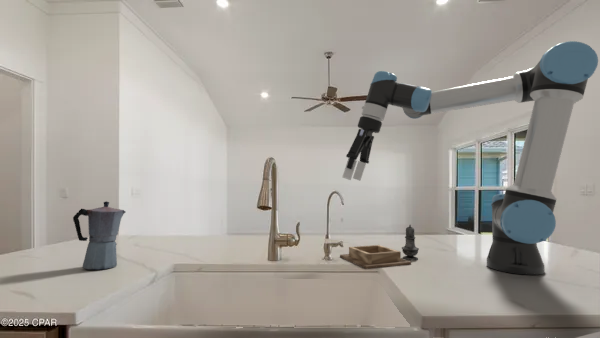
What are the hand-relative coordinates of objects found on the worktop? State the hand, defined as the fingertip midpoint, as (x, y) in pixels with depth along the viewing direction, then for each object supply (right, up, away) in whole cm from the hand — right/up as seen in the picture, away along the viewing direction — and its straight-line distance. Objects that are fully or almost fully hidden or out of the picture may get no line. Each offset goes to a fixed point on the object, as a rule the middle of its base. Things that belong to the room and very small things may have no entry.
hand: (351, 179), depth 110 cm
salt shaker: (+21, -28, +4) cm, 36 cm away
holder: (+8, -28, +1) cm, 29 cm away
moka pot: (-79, -27, -11) cm, 84 cm away
